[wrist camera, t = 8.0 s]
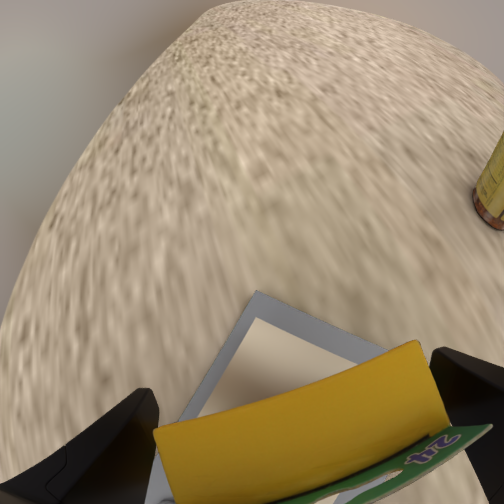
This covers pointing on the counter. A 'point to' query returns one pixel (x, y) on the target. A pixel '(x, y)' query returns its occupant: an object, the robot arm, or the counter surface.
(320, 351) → the base brick
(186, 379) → the counter surface
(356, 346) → the baseplate
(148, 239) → the counter surface
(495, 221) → the sauce bottle
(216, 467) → the crayon box
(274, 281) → the counter surface
